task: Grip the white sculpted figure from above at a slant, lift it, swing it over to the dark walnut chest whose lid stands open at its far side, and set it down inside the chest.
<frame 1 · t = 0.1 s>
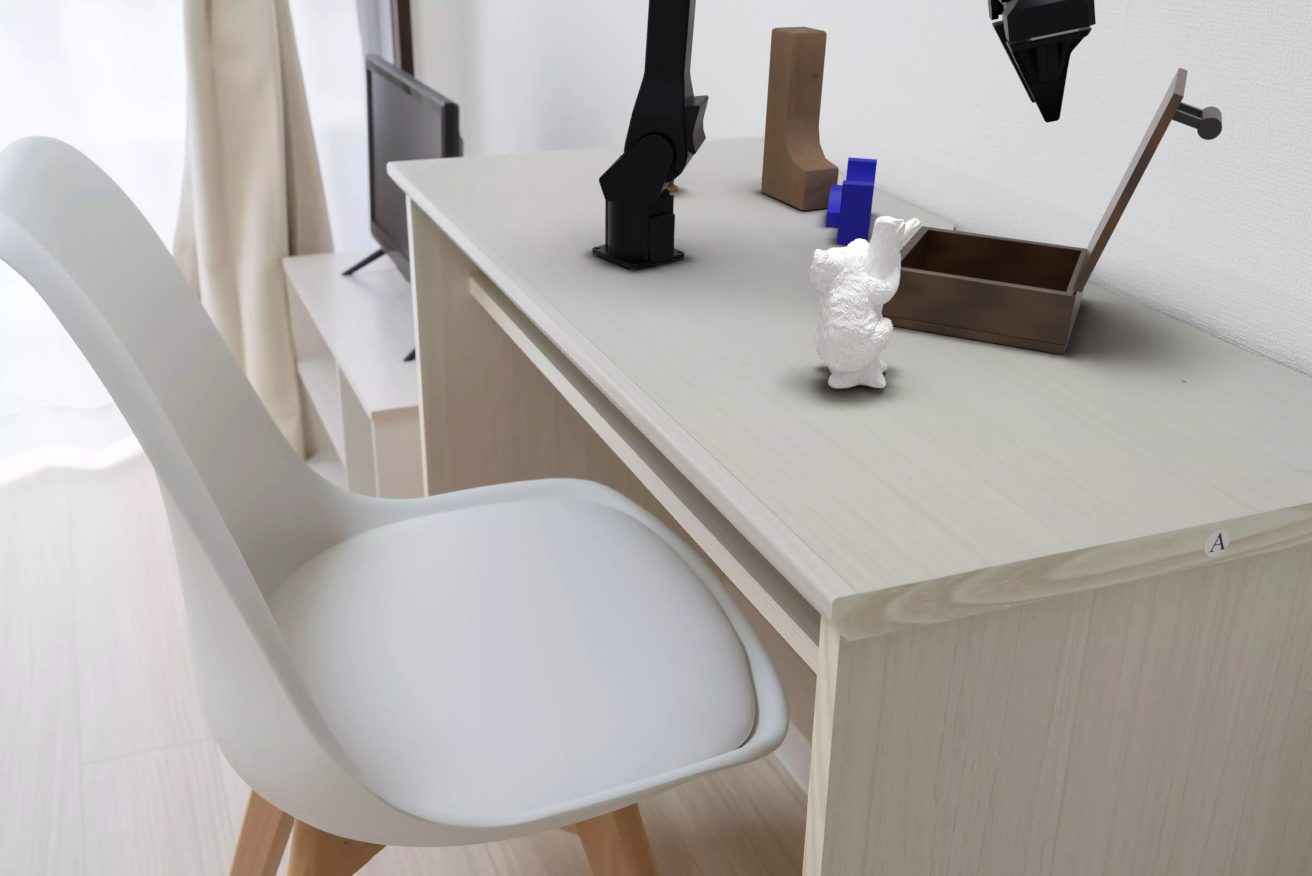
hand: (1044, 111, 94), 15 cm above the table, tool pointing down, fingers open, 9 cm apart
cable clip: (847, 230, 117), on the table
chest lid: (1154, 186, 86), point 12 cm above the table, hinge at 105.0°
wooden block: (797, 201, 127), on the table
chest: (982, 312, 95), on the table
white sculpted figure: (851, 383, 81), on the table
lion figurine: (663, 186, 132), on the table
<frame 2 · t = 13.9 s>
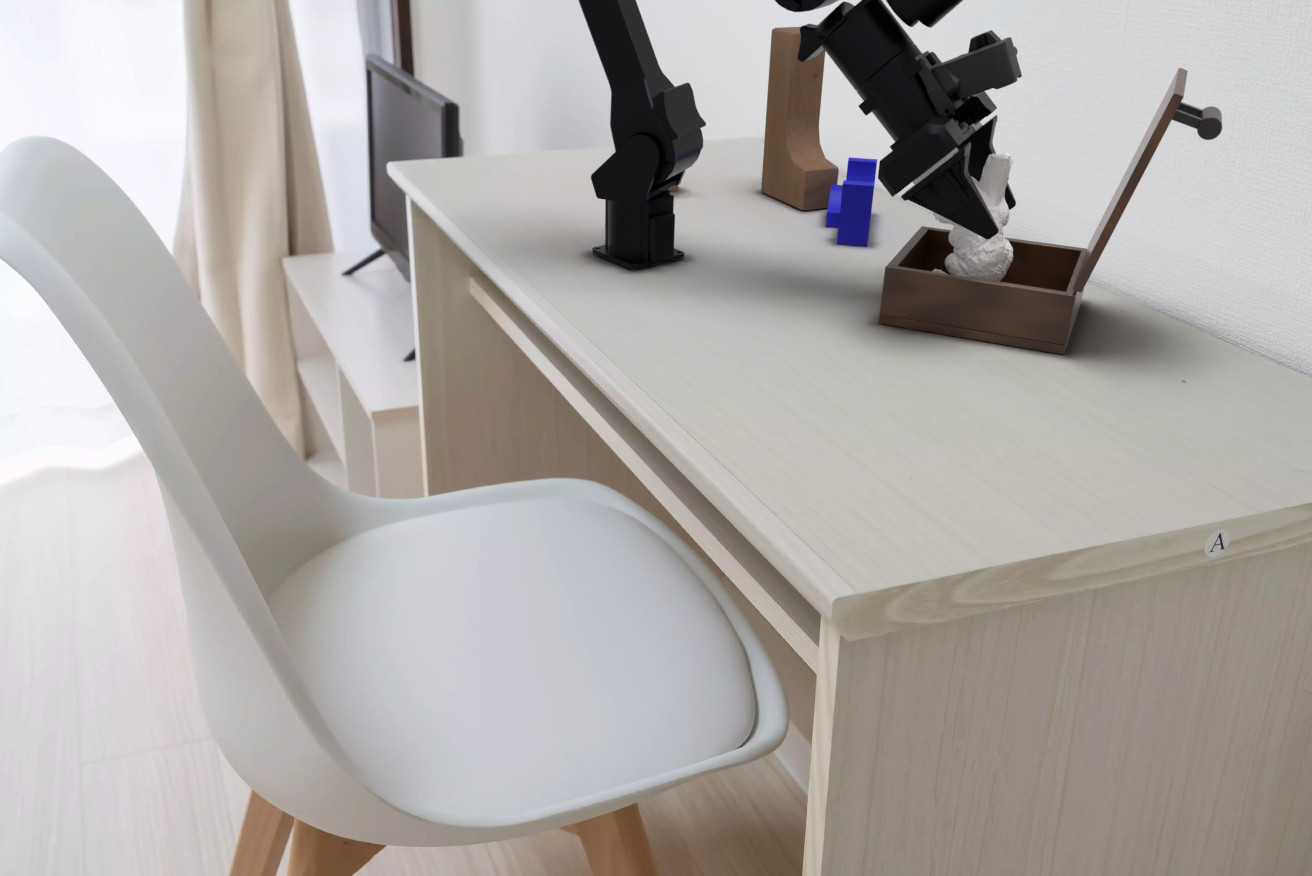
hand: (1003, 221, 91), 8 cm above the table, tool tilted 45°, fingers open, 9 cm apart
white sculpted figure: (968, 300, 96), point 1 cm above the table, touching chest, gripper
everything else where it was.
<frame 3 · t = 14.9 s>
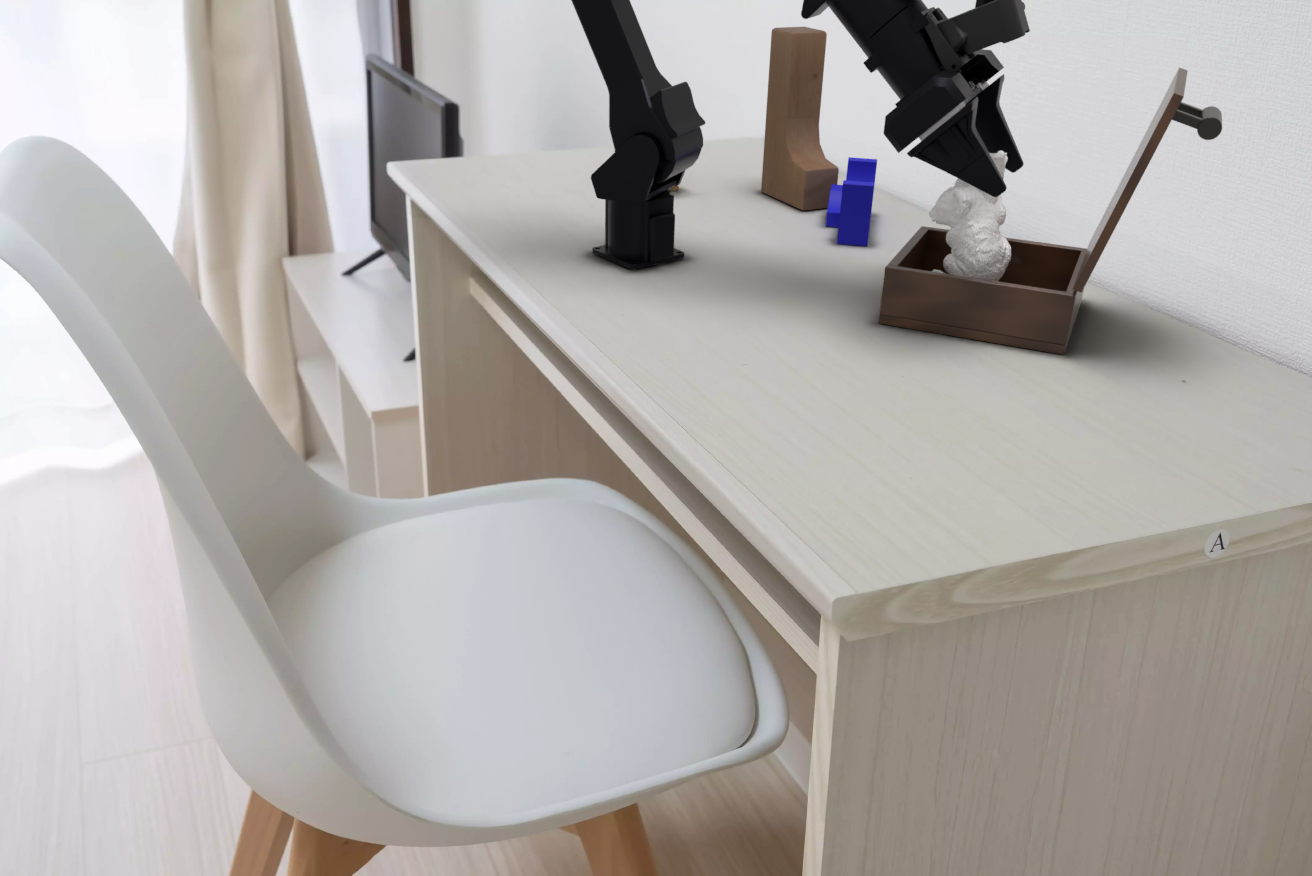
hand: (1010, 180, 90), 11 cm above the table, tool tilted 45°, fingers open, 9 cm apart
nothing on the table moved.
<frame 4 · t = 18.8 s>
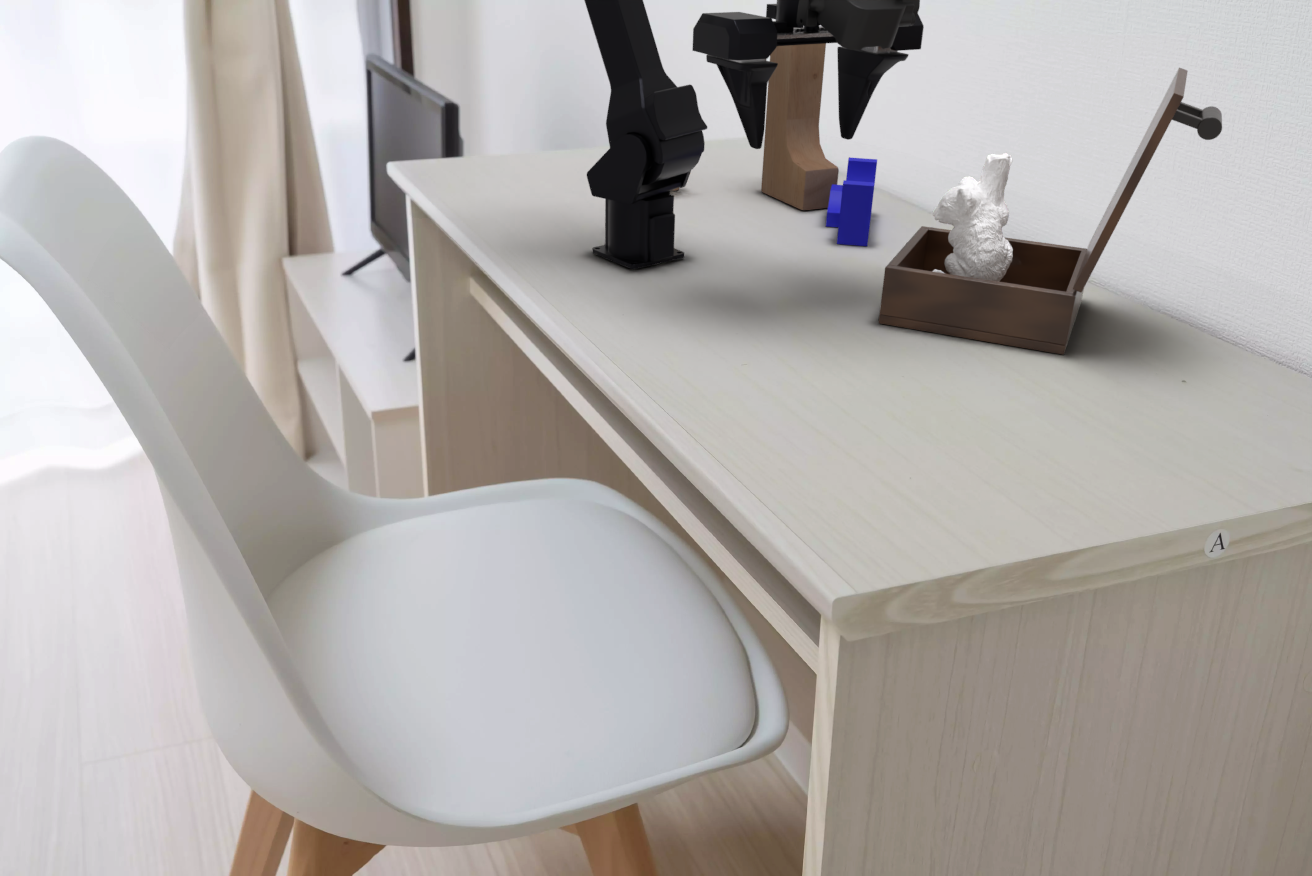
hand: (802, 143, 92), 13 cm above the table, tool pointing down, fingers open, 9 cm apart
white sculpted figure: (968, 300, 96), point 1 cm above the table, touching chest
everything else where it was.
at the end: white sculpted figure inside the target area in the chest (1.6 cm from its centre), point 0.6 cm above the chest's base; white sculpted figure tilted 0°; the gripper is holding nothing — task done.
